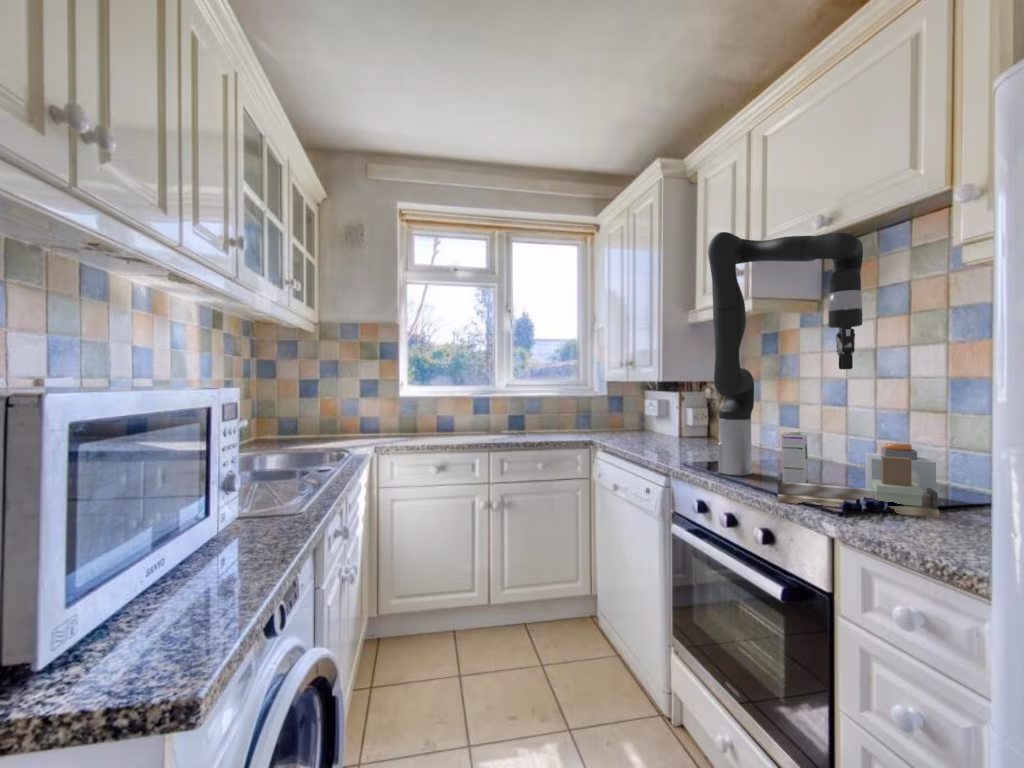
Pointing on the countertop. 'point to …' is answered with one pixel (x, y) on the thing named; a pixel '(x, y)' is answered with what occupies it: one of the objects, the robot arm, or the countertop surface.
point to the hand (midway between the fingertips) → (845, 369)
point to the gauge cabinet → (920, 467)
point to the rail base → (839, 501)
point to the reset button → (899, 446)
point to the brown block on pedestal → (897, 482)
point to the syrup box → (794, 457)
